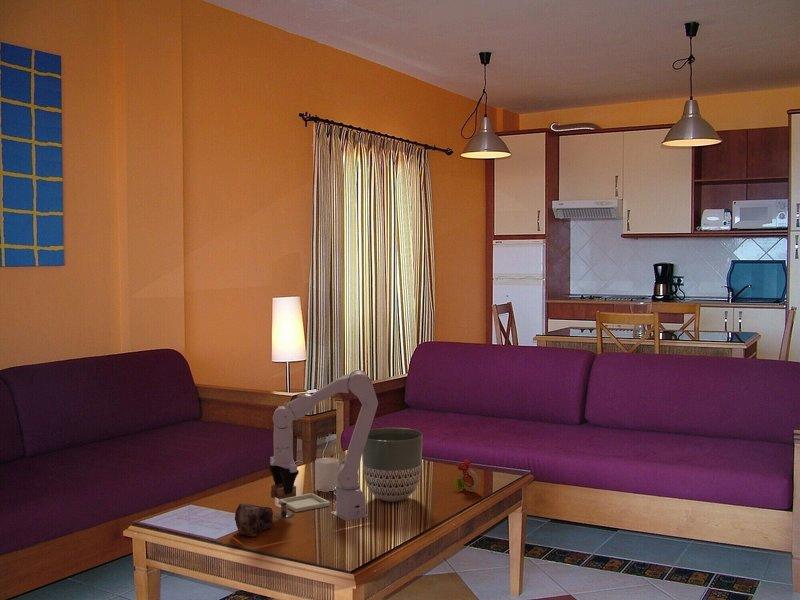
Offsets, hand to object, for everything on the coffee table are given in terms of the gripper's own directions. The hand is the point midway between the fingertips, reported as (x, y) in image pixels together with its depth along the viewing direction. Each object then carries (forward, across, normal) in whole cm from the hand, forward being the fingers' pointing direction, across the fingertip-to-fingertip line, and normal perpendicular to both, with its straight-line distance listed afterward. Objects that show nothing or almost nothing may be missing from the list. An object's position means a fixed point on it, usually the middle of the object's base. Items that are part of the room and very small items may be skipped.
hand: (283, 490), depth 253 cm
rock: (+8, +8, -14) cm, 18 cm away
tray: (+8, -7, +10) cm, 15 cm away
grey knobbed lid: (+8, 0, 0) cm, 8 cm away
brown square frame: (+1, 0, 0) cm, 1 cm away
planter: (+8, +4, +37) cm, 38 cm away
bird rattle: (+8, +10, +63) cm, 64 cm away
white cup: (+8, -18, +25) cm, 32 cm away
